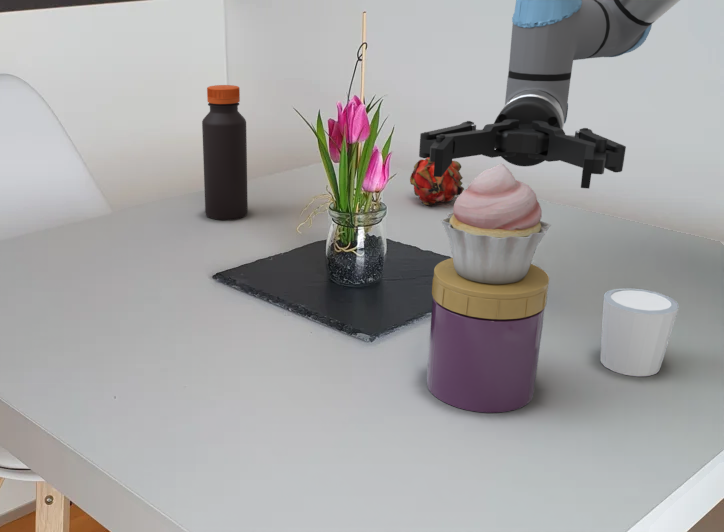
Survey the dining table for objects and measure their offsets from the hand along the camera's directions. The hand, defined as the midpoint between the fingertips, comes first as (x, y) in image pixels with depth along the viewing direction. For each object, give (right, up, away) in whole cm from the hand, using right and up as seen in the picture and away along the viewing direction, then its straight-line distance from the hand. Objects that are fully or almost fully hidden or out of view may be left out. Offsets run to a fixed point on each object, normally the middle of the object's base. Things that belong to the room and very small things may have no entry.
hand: (510, 168), depth 79 cm
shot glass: (+14, -19, +6) cm, 24 cm away
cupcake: (-3, -10, -3) cm, 11 cm away
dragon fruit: (+5, +4, +62) cm, 62 cm away
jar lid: (-3, -10, -3) cm, 11 cm away
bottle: (-30, +1, +55) cm, 63 cm away
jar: (-3, -21, +1) cm, 21 cm away
